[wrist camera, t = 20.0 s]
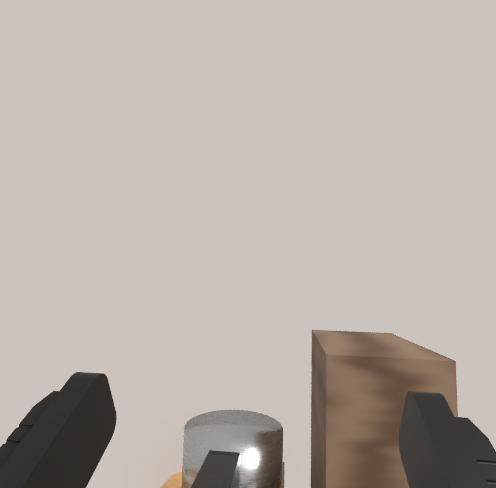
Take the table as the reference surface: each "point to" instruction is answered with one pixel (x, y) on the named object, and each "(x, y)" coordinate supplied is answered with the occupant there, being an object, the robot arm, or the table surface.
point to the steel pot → (232, 451)
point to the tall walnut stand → (367, 404)
